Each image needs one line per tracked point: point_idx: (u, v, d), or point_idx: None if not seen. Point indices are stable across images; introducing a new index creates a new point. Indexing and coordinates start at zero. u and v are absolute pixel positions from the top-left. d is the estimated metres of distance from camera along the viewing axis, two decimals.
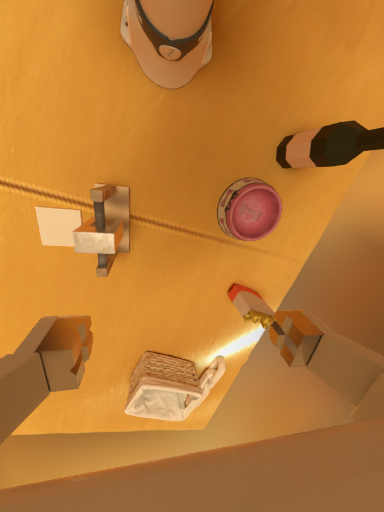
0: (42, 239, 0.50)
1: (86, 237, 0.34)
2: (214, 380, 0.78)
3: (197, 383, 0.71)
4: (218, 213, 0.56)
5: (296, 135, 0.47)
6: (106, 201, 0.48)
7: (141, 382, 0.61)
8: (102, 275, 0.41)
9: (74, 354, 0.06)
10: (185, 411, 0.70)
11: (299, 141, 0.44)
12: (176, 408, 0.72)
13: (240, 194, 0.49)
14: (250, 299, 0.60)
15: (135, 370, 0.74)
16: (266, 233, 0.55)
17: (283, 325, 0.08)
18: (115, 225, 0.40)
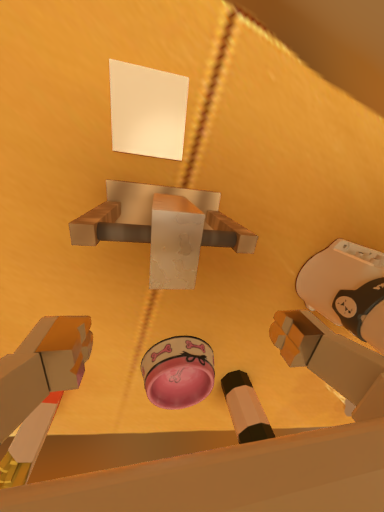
0: (122, 64, 0.24)
1: (188, 239, 0.15)
2: None
3: None
4: (175, 339, 0.44)
5: (253, 390, 0.50)
6: None
7: None
8: (74, 235, 0.17)
9: (75, 354, 0.06)
10: None
11: (254, 404, 0.46)
12: None
13: (205, 369, 0.41)
14: (47, 428, 0.36)
15: None
16: (157, 403, 0.43)
17: (283, 325, 0.08)
18: None
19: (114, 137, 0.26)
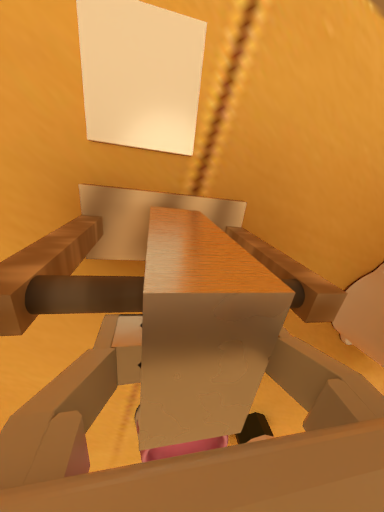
0: None
1: (243, 351, 0.06)
2: None
3: None
4: None
5: None
6: None
7: None
8: None
9: None
10: None
11: None
12: None
13: None
14: None
15: None
16: None
17: None
18: None
19: (89, 118, 0.17)
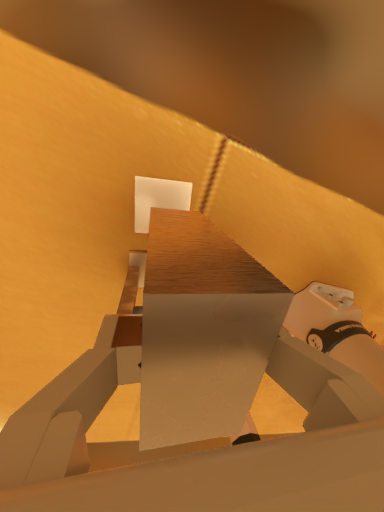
0: (144, 178, 0.32)
1: (242, 352, 0.06)
2: None
3: None
4: None
5: None
6: None
7: None
8: None
9: None
10: None
11: None
12: None
13: None
14: None
15: None
16: None
17: None
18: None
19: (136, 224, 0.35)
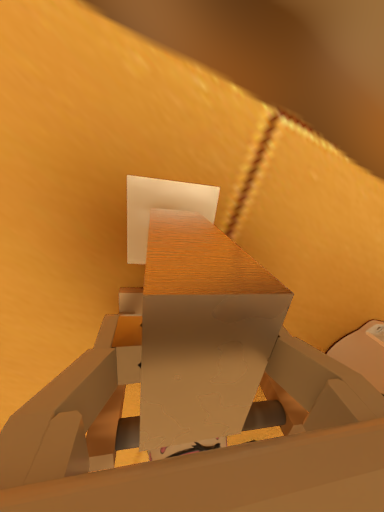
0: (142, 179, 0.20)
1: (242, 352, 0.06)
2: None
3: None
4: None
5: None
6: None
7: None
8: None
9: None
10: None
11: None
12: None
13: None
14: None
15: None
16: None
17: None
18: None
19: (129, 251, 0.22)
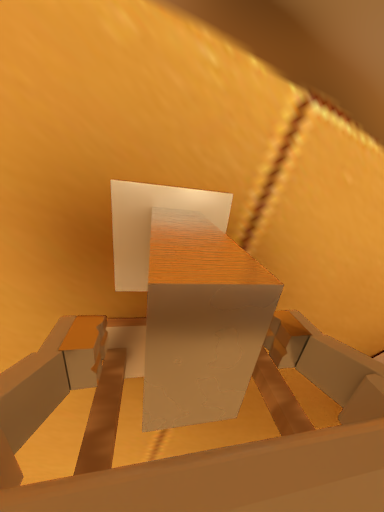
0: (132, 185, 0.15)
1: (237, 339, 0.06)
2: None
3: None
4: None
5: None
6: None
7: None
8: None
9: (95, 353, 0.06)
10: None
11: None
12: None
13: None
14: None
15: None
16: None
17: (272, 325, 0.08)
18: None
19: (118, 276, 0.18)
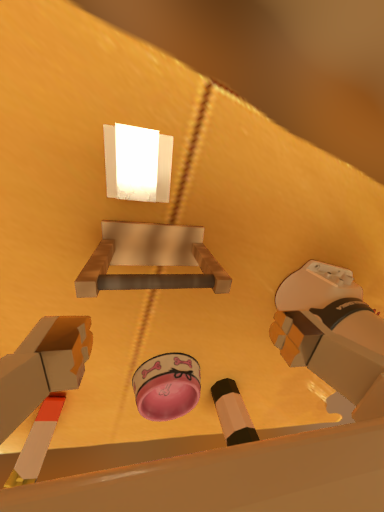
0: None
1: (147, 153, 0.19)
2: None
3: None
4: (164, 356, 0.48)
5: (239, 396, 0.55)
6: (182, 240, 0.36)
7: None
8: (79, 290, 0.20)
9: (75, 354, 0.06)
10: None
11: (240, 409, 0.51)
12: None
13: (191, 383, 0.45)
14: None
15: None
16: (147, 416, 0.47)
17: (283, 325, 0.08)
18: None
19: (108, 186, 0.30)
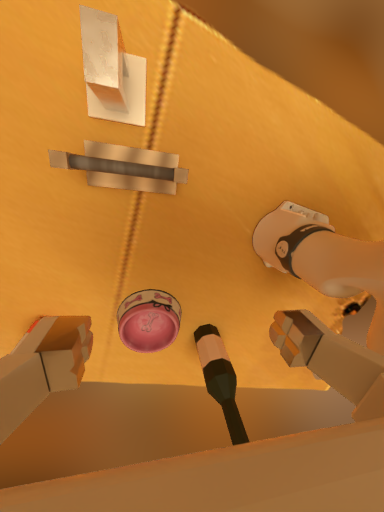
0: None
1: (108, 37, 0.23)
2: None
3: None
4: (146, 291, 0.52)
5: (220, 338, 0.58)
6: (158, 165, 0.39)
7: None
8: (52, 159, 0.24)
9: (75, 354, 0.06)
10: None
11: (218, 346, 0.54)
12: None
13: (169, 314, 0.49)
14: None
15: None
16: (129, 345, 0.51)
17: (283, 325, 0.08)
18: (124, 97, 0.30)
19: (89, 105, 0.34)
